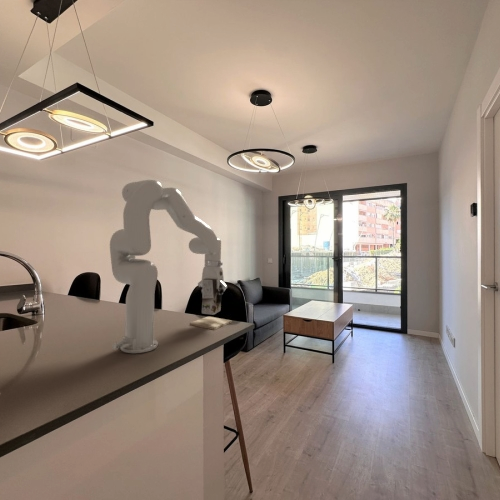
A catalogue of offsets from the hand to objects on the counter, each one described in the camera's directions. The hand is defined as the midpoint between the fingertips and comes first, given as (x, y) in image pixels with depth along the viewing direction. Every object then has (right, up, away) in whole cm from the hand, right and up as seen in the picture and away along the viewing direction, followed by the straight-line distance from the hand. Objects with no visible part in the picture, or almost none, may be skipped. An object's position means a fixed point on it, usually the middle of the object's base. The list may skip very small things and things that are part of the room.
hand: (211, 301), depth 136 cm
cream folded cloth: (0, -11, 0) cm, 11 cm away
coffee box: (0, -5, 0) cm, 5 cm away
